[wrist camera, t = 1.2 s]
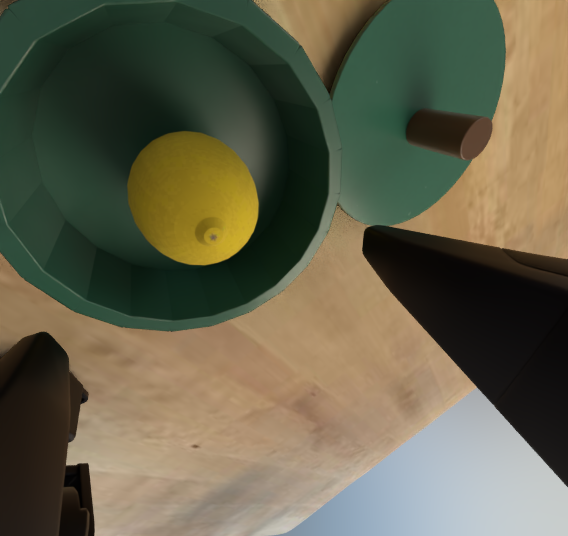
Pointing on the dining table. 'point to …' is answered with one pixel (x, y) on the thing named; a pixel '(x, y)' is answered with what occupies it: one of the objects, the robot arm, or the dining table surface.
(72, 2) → the pot
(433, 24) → the pot lid
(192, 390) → the dining table surface
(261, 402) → the dining table surface
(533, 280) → the robot arm
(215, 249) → the lemon
